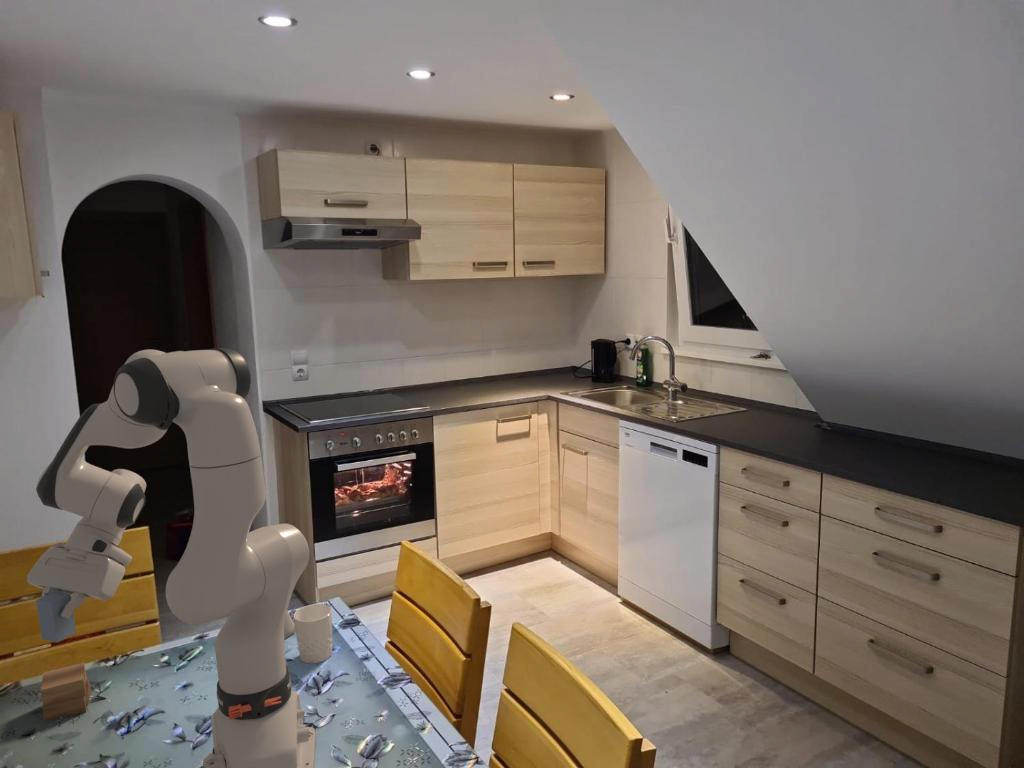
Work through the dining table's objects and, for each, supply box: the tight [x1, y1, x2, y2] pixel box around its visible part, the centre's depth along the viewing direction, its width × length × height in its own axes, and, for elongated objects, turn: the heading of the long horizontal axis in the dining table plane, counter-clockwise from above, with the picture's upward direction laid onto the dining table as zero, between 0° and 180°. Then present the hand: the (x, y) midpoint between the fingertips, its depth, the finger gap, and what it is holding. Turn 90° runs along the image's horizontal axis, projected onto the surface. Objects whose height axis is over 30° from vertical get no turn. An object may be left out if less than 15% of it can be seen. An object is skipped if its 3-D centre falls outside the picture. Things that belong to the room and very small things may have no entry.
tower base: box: [41, 678, 92, 723], centre depth 147 cm, size 7×7×4 cm
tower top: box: [40, 661, 88, 707], centre depth 146 cm, size 7×7×4 cm
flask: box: [284, 610, 296, 640], centre depth 172 cm, size 7×7×10 cm
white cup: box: [293, 603, 333, 664], centre depth 162 cm, size 8×8×10 cm
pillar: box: [35, 591, 77, 643], centre depth 144 cm, size 4×4×8 cm
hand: (52, 615), depth 143 cm, fingers closed on pillar, 4 cm apart
